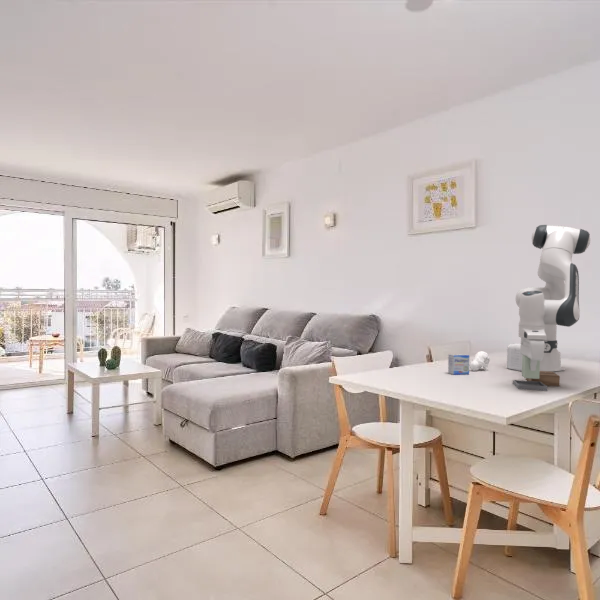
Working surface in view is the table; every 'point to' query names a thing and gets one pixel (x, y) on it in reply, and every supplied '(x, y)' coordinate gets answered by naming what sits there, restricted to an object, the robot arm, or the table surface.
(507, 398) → the table surface
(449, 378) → the table surface
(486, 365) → the white lumpy piece
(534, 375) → the plug block
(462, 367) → the medicine box
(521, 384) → the charcoal tray
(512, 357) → the white upright block
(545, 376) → the walnut stand
